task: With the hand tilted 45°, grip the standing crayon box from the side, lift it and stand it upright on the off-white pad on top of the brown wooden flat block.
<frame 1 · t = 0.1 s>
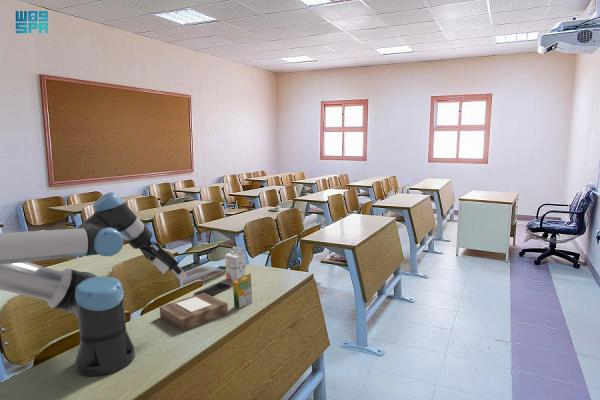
hand: (174, 274, 140), 15 cm above the table, tool tilted 35°, fingers open, 13 cm apart
ink cartridge box: (235, 280, 179), on the table
brown wooden flat block: (194, 315, 142), on the table
phone: (213, 292, 165), on the table
crayon box: (243, 305, 151), on the table
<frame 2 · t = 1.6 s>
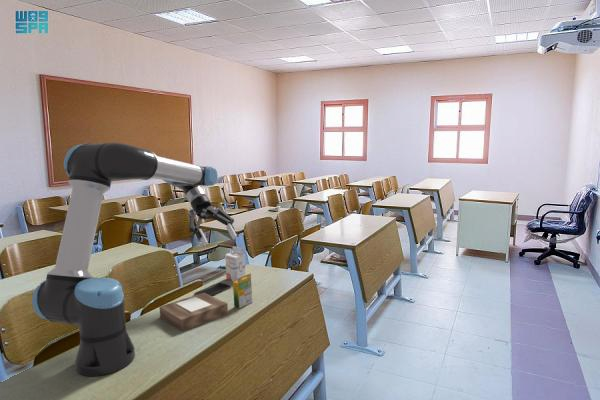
hand: (221, 240, 157), 23 cm above the table, tool tilted 45°, fingers open, 13 cm apart
nothing on the table moved.
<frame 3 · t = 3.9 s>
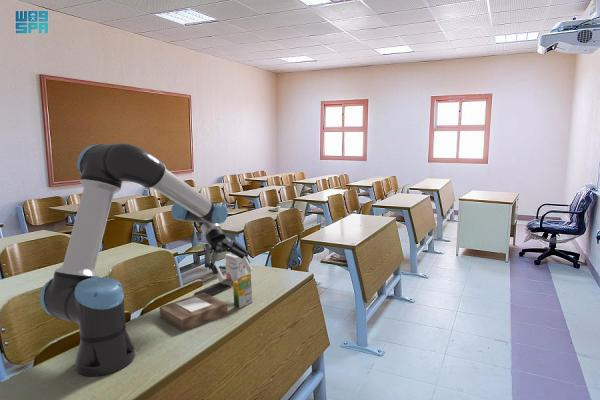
hand: (237, 275, 153), 10 cm above the table, tool tilted 45°, fingers open, 13 cm apart
nothing on the table moved.
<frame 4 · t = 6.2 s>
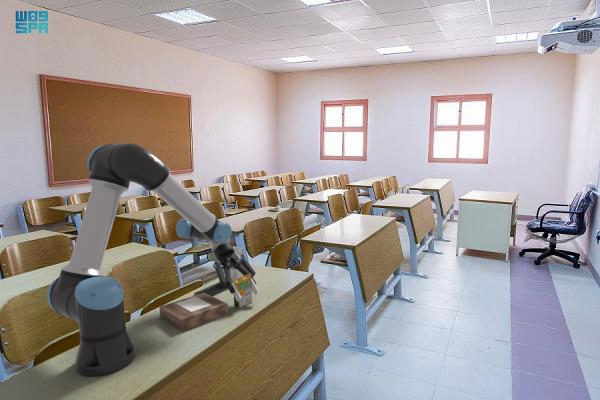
hand: (248, 296, 148), 4 cm above the table, tool tilted 45°, fingers closed on crayon box, 7 cm apart
crayon box: (243, 304, 151), on the table, touching gripper
everything else where it was.
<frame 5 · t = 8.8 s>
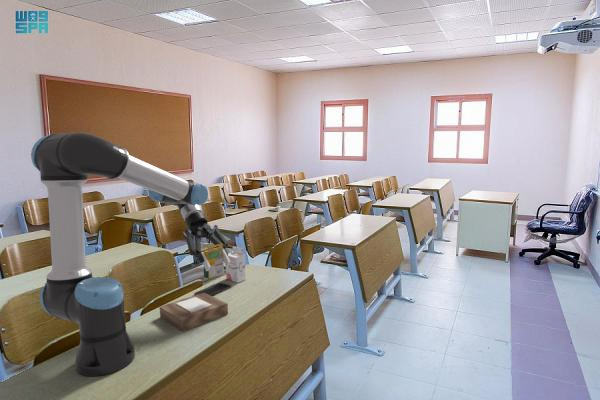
hand: (218, 266, 141), 17 cm above the table, tool tilted 45°, fingers closed on crayon box, 7 cm apart
crayon box: (214, 276, 144), point 13 cm above the table, touching gripper
everything else where it was.
when the fingers open (10 cm above the table, at t = 11.3 s): crayon box drops 2 cm, resting on brown wooden flat block.
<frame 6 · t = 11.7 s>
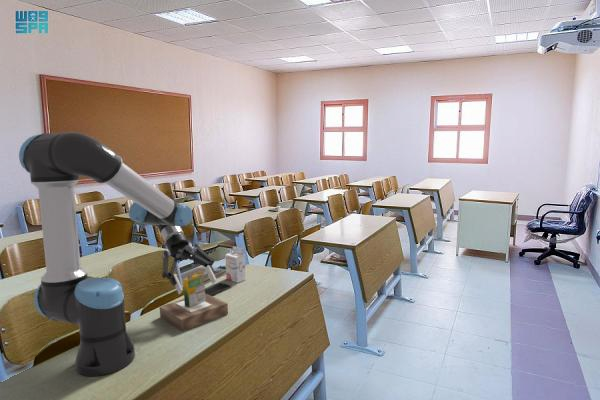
hand: (198, 286, 139), 11 cm above the table, tool tilted 45°, fingers open, 13 cm apart
crayon box: (195, 303, 142), point 4 cm above the table, touching brown wooden flat block
everything else where it was.
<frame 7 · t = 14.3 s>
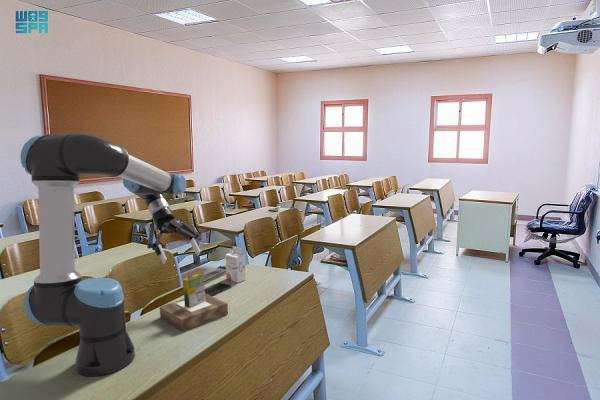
hand: (182, 257, 146), 20 cm above the table, tool tilted 45°, fingers open, 13 cm apart
nothing on the table moved.
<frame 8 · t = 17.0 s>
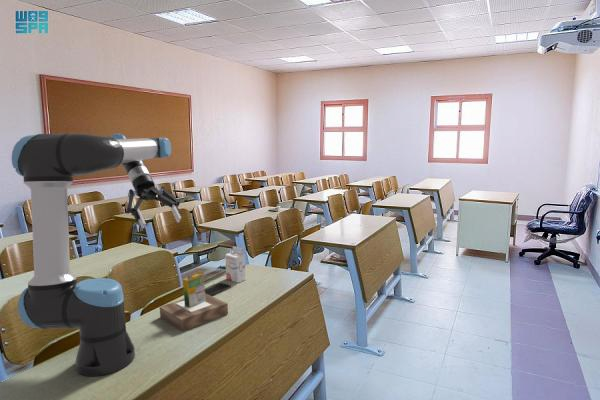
hand: (162, 223, 145), 33 cm above the table, tool tilted 45°, fingers open, 13 cm apart
nothing on the table moved.
at the end: crayon box inside the target area on the brown wooden flat block (0.7 cm from its centre), point 4.2 cm above the brown wooden flat block's base; crayon box tilted 0°; the gripper is holding nothing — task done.
